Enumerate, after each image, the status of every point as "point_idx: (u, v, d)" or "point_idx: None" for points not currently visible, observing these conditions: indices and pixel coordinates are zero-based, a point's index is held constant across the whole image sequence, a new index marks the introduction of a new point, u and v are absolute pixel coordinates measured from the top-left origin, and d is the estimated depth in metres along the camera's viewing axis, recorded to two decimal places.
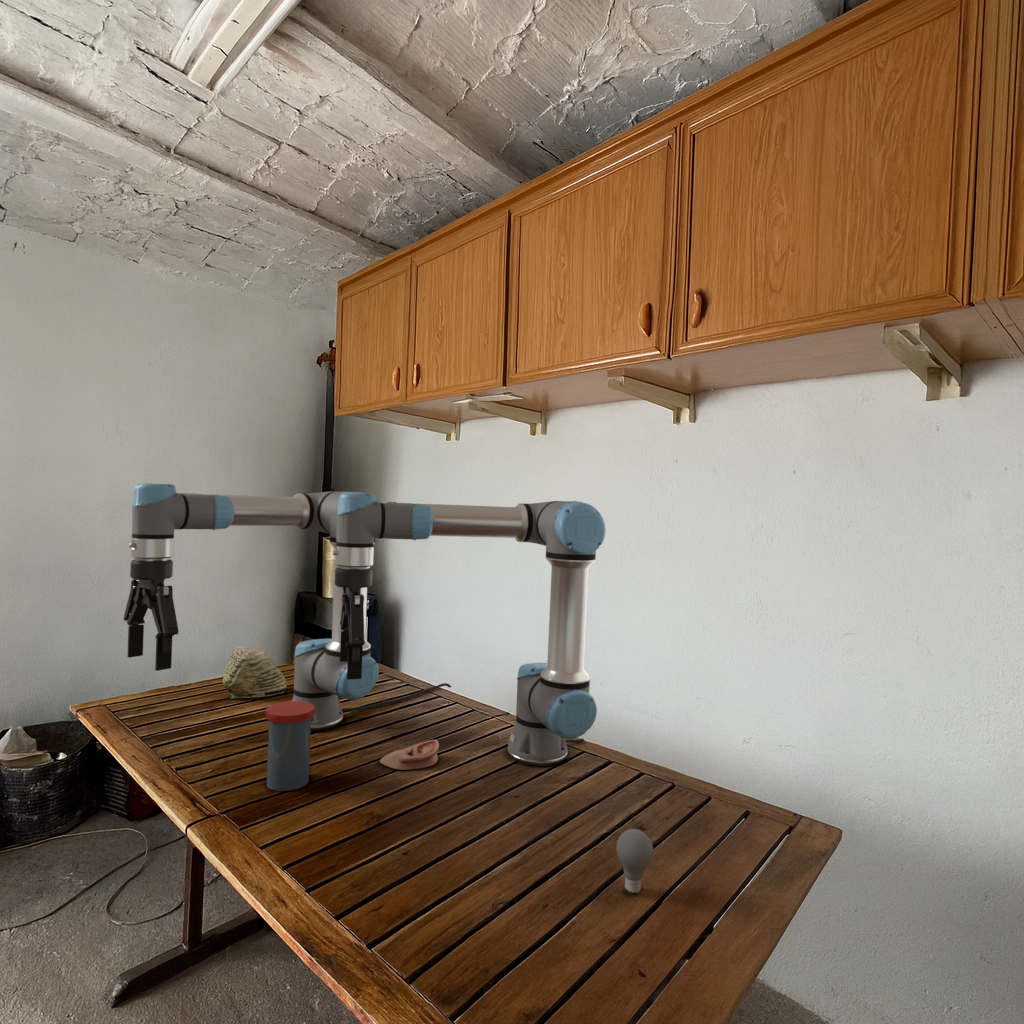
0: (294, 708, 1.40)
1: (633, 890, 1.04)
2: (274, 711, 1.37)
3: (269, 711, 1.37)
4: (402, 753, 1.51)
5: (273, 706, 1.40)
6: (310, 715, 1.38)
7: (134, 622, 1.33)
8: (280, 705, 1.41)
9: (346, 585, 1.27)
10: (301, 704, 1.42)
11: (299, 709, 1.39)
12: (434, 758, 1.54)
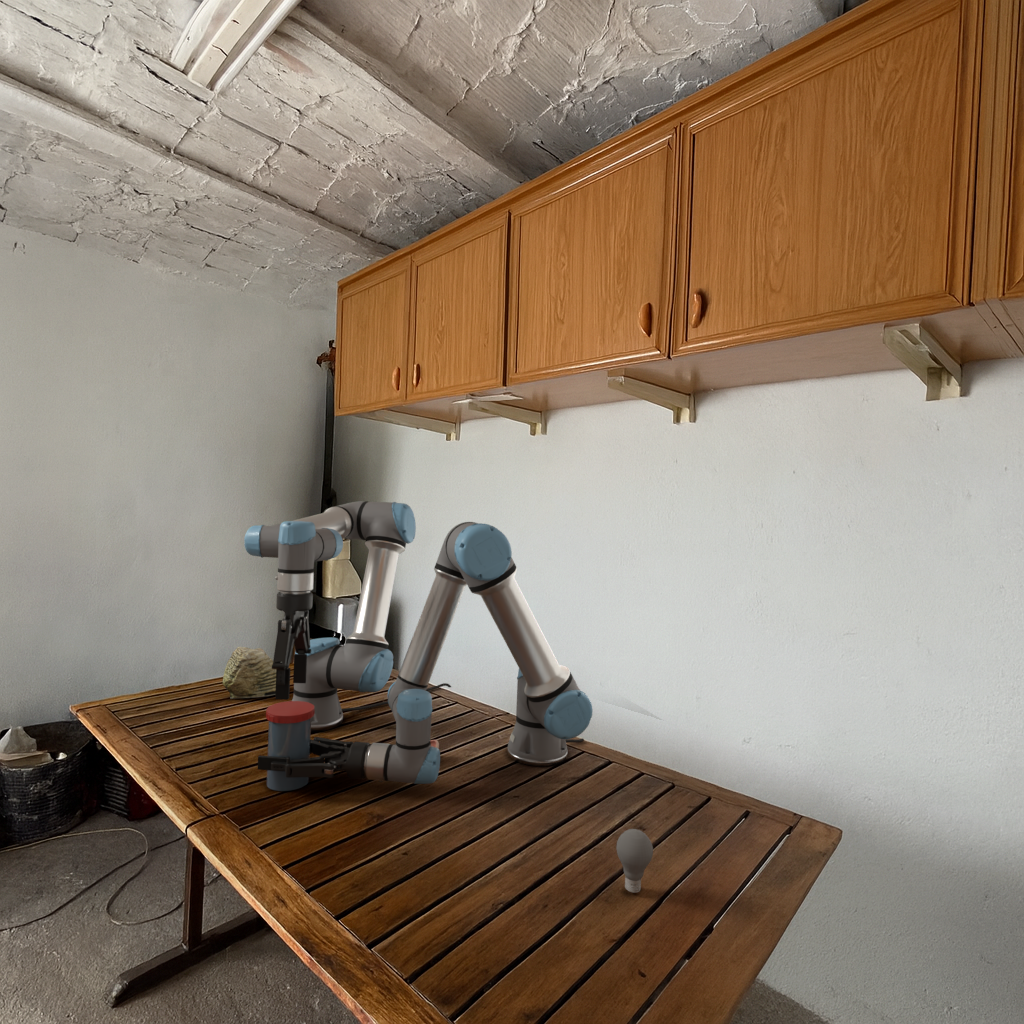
0: (294, 708, 1.40)
1: (633, 890, 1.04)
2: (274, 711, 1.37)
3: (269, 711, 1.37)
4: None
5: (273, 706, 1.40)
6: (310, 715, 1.38)
7: (300, 651, 1.46)
8: (280, 705, 1.41)
9: None
10: (301, 704, 1.42)
11: (299, 709, 1.39)
12: None
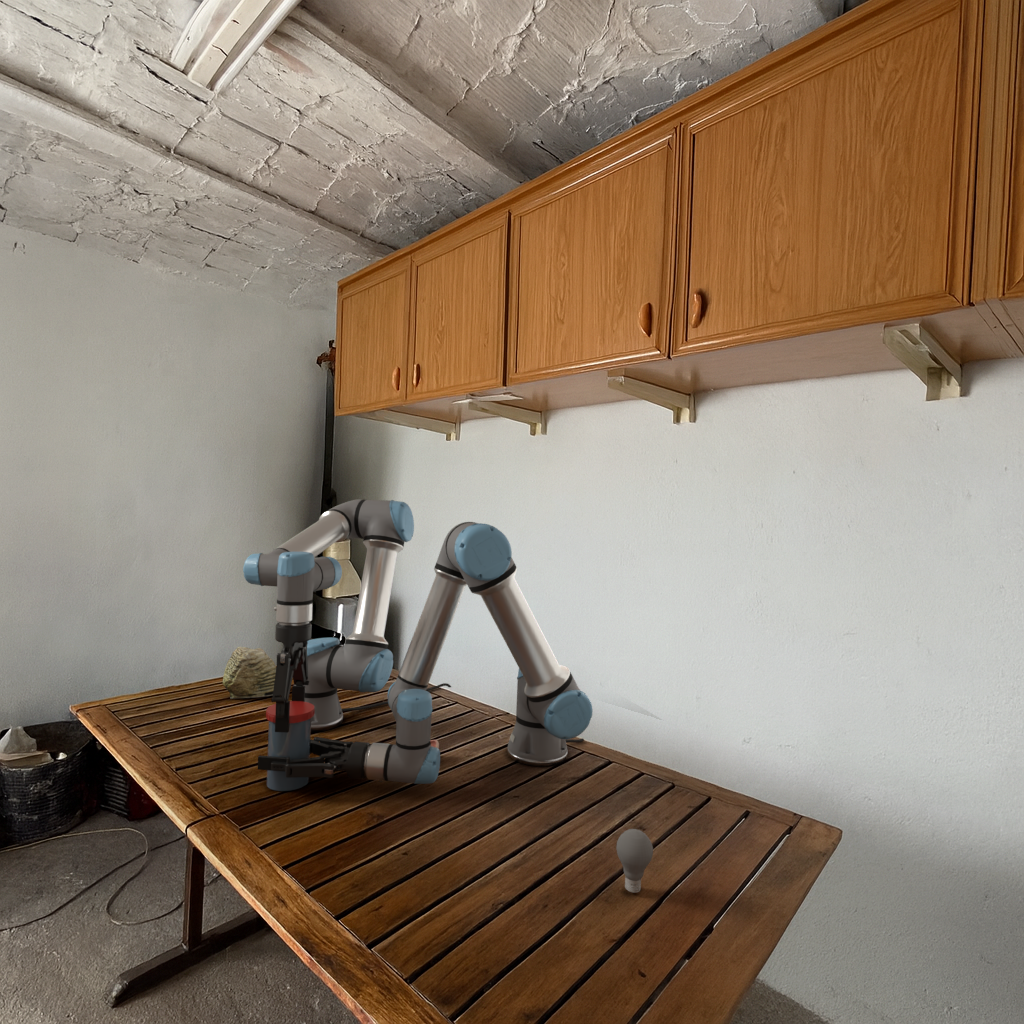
0: (294, 708, 1.40)
1: (633, 890, 1.04)
2: (274, 711, 1.37)
3: (269, 711, 1.37)
4: None
5: (273, 706, 1.40)
6: (310, 715, 1.38)
7: (298, 682, 1.45)
8: None
9: None
10: (301, 704, 1.42)
11: (299, 709, 1.39)
12: None
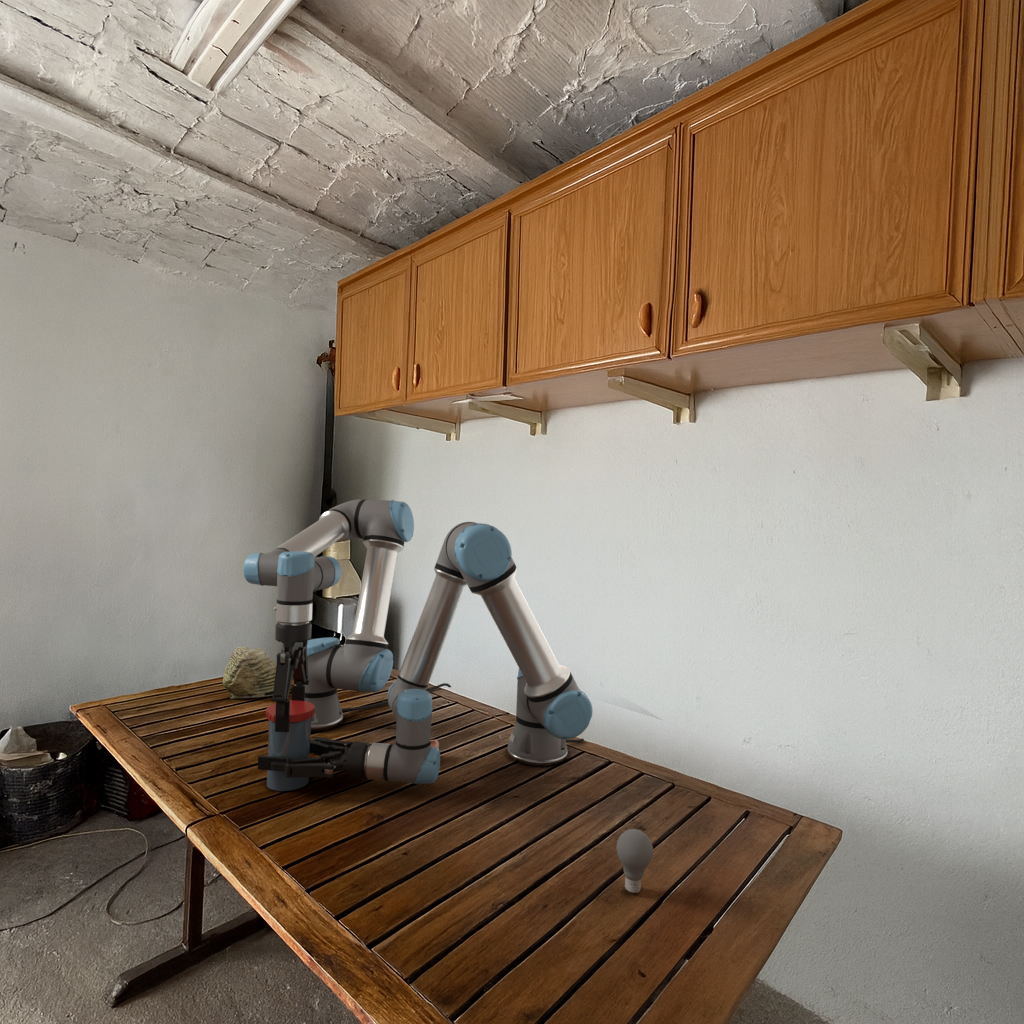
0: (292, 706, 1.41)
1: (633, 890, 1.04)
2: (297, 712, 1.37)
3: (296, 713, 1.36)
4: None
5: None
6: None
7: (298, 682, 1.45)
8: None
9: None
10: None
11: (297, 704, 1.42)
12: None
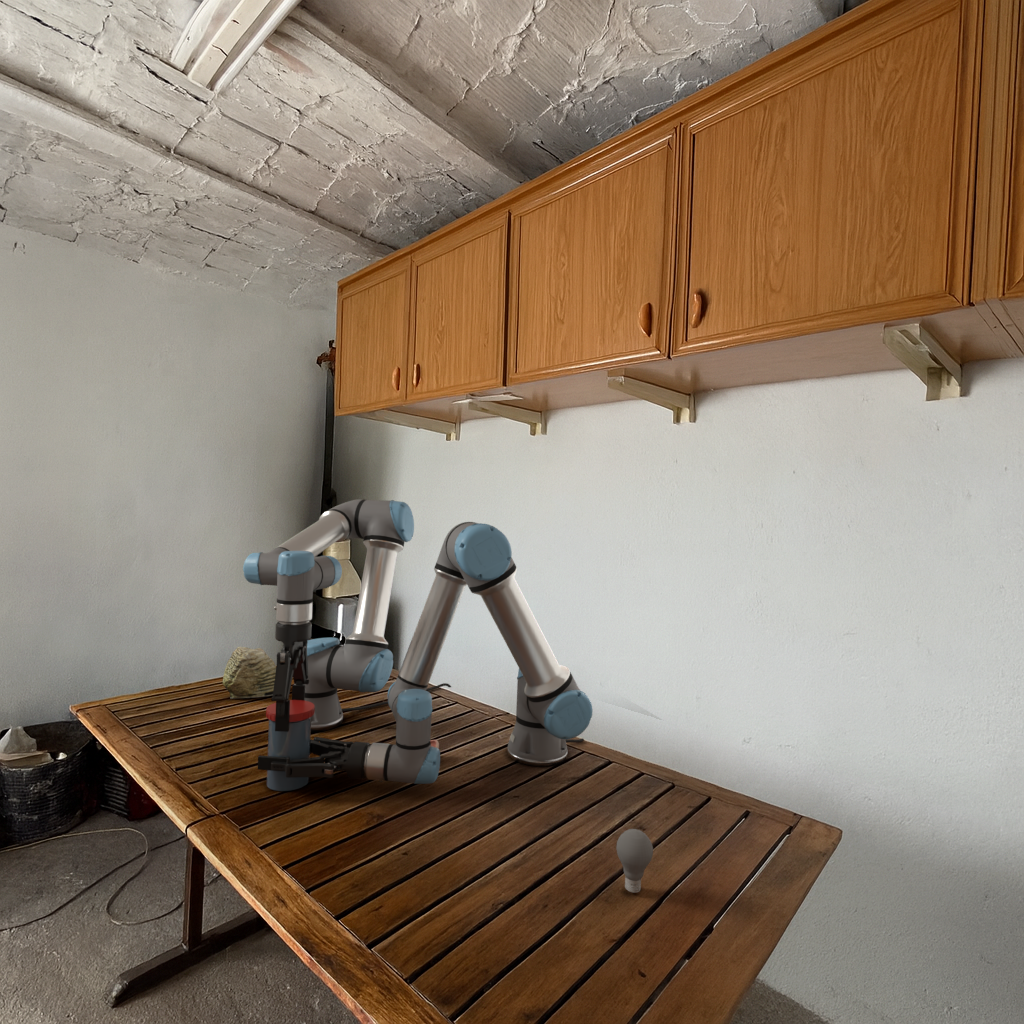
0: None
1: (633, 890, 1.04)
2: (306, 704, 1.42)
3: (311, 704, 1.42)
4: None
5: (307, 709, 1.39)
6: None
7: (298, 681, 1.45)
8: (300, 709, 1.38)
9: None
10: None
11: None
12: None
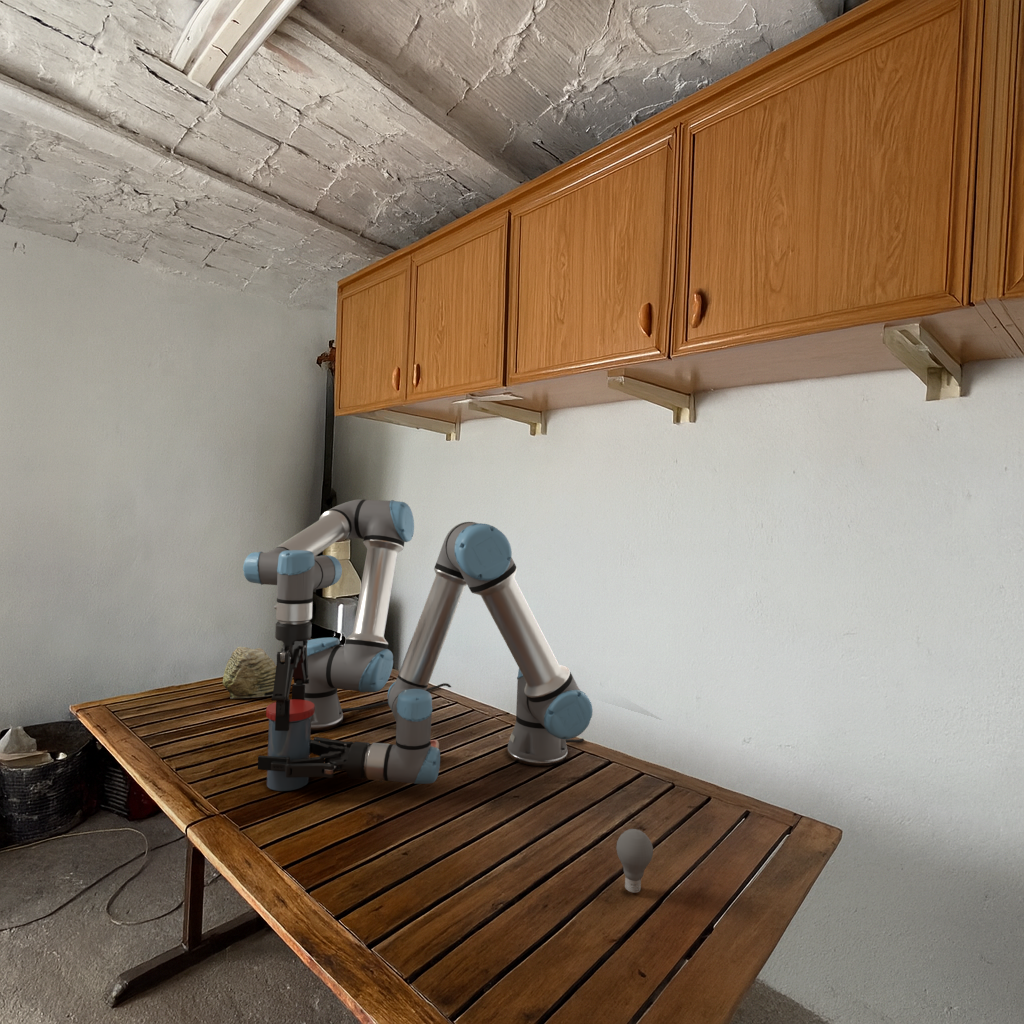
0: None
1: (633, 890, 1.04)
2: None
3: None
4: None
5: (301, 700, 1.44)
6: (274, 717, 1.35)
7: (298, 681, 1.45)
8: (302, 702, 1.42)
9: None
10: (299, 709, 1.38)
11: None
12: None
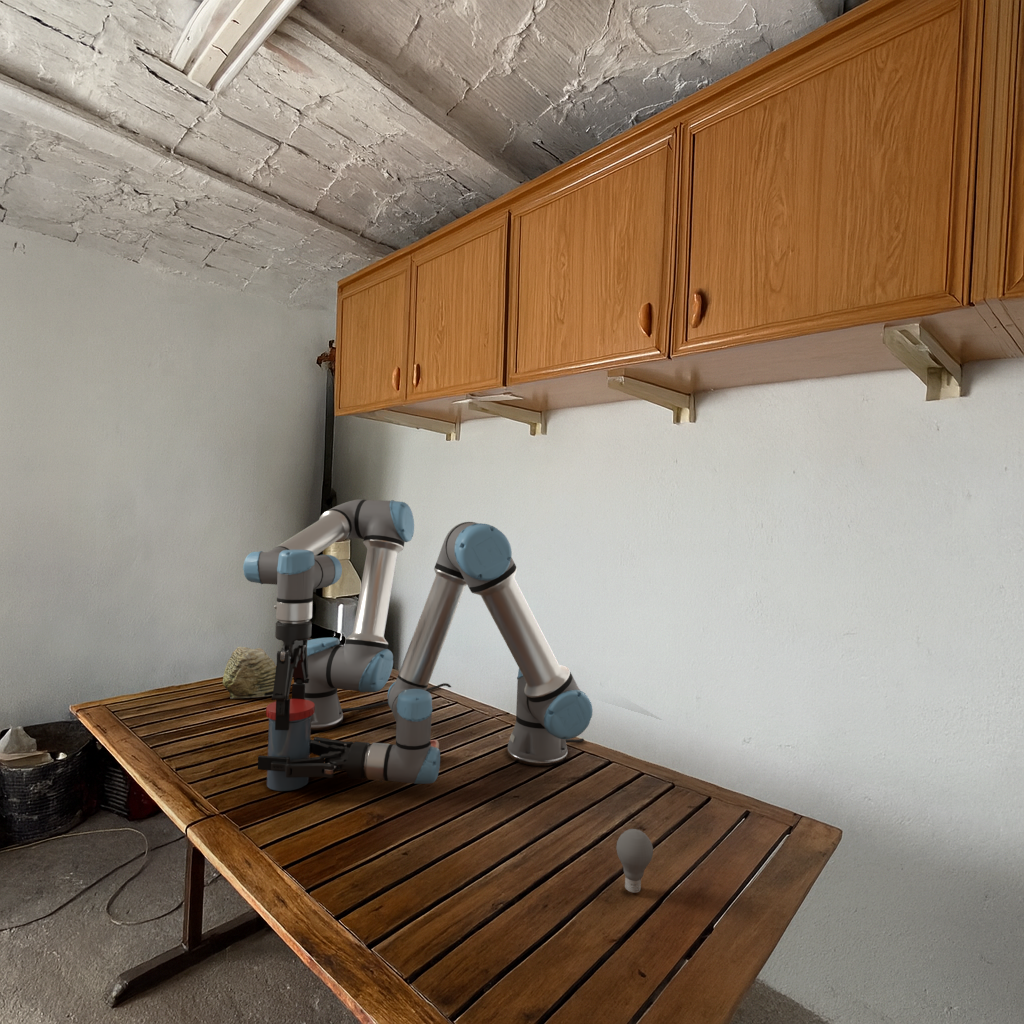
0: (294, 706, 1.39)
1: (633, 890, 1.04)
2: (273, 708, 1.37)
3: (269, 708, 1.37)
4: None
5: (275, 703, 1.41)
6: (308, 714, 1.38)
7: (298, 680, 1.45)
8: None
9: None
10: (302, 702, 1.42)
11: (298, 707, 1.39)
12: None
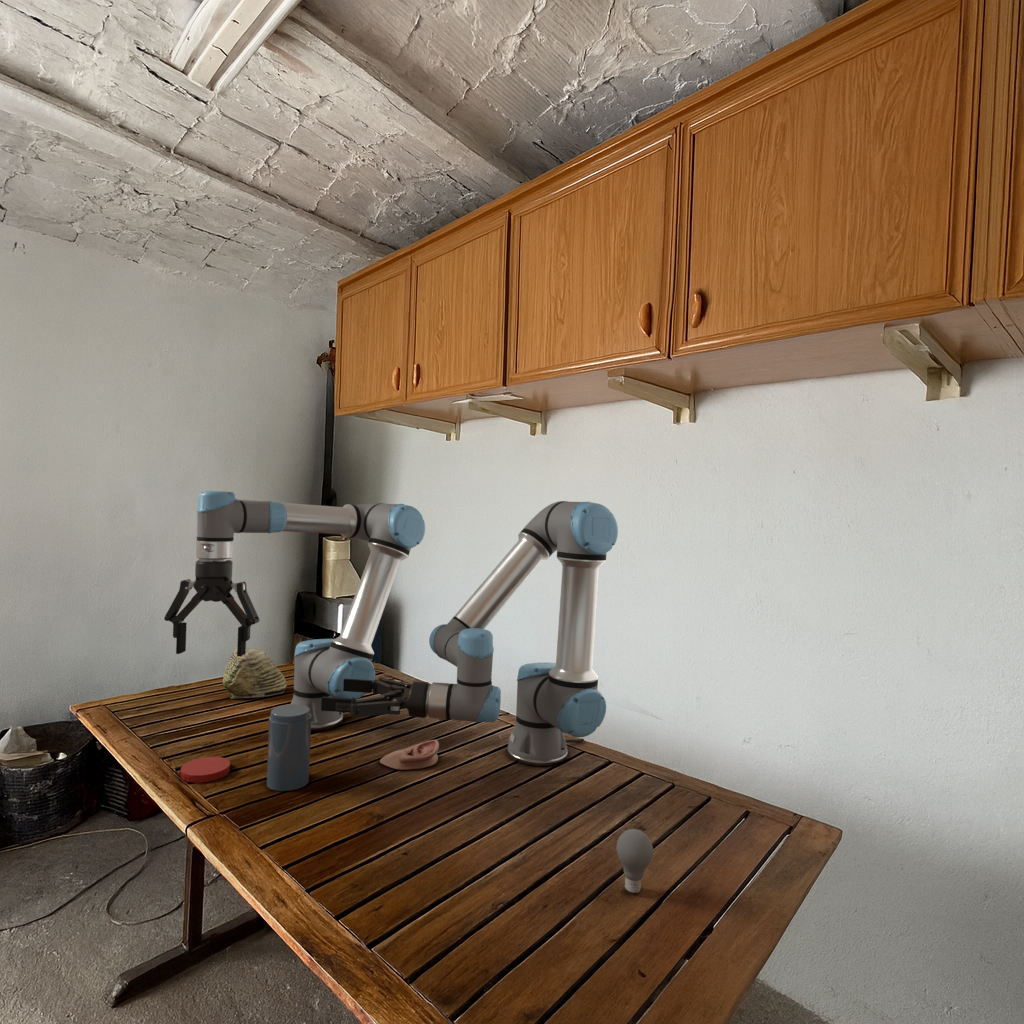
0: (208, 764, 1.43)
1: (633, 890, 1.04)
2: (208, 771, 1.40)
3: (206, 773, 1.39)
4: (402, 753, 1.51)
5: (191, 772, 1.39)
6: None
7: (179, 621, 1.42)
8: (192, 770, 1.40)
9: None
10: (199, 761, 1.44)
11: (214, 762, 1.45)
12: (434, 758, 1.54)
